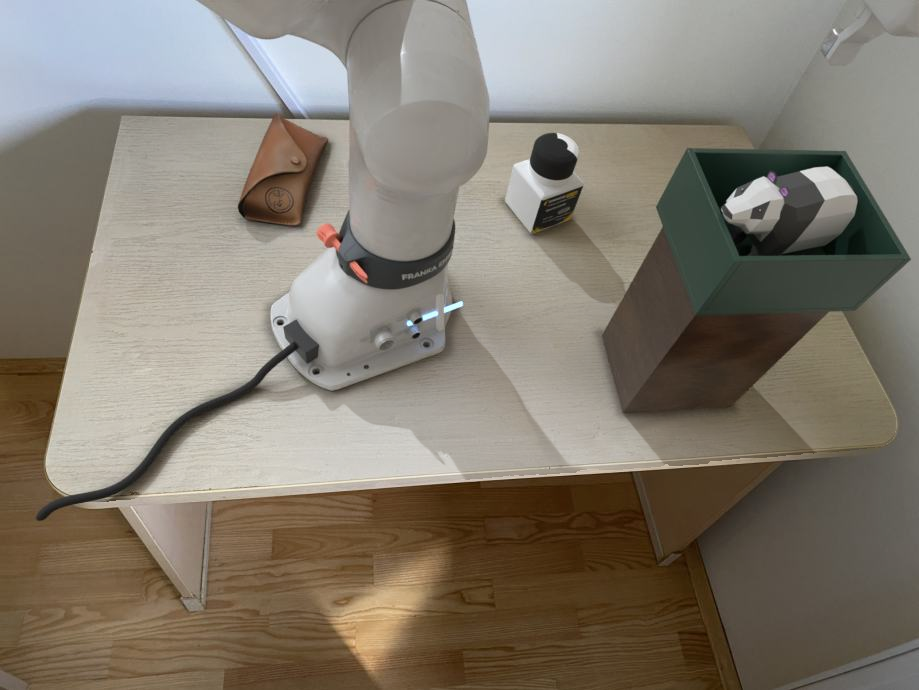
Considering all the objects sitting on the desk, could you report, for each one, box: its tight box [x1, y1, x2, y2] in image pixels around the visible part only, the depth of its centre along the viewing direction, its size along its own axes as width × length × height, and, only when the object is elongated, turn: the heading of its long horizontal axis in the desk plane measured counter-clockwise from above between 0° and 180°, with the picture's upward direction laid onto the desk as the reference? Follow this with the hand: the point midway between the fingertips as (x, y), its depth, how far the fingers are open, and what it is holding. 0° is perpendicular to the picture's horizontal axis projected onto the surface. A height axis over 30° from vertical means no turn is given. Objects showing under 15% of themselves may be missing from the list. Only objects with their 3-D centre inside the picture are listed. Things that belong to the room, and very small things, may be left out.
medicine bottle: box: [504, 132, 585, 235], centre depth 90 cm, size 7×7×12 cm
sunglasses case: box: [237, 112, 329, 227], centre depth 91 cm, size 18×7×7 cm
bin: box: [655, 147, 912, 315], centre depth 61 cm, size 16×13×8 cm
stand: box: [601, 226, 829, 414], centre depth 73 cm, size 14×11×22 cm
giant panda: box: [721, 167, 858, 256], centre depth 59 cm, size 15×6×10 cm, turn 112°
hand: (806, 18), depth 48 cm, fingers open, 8 cm apart
